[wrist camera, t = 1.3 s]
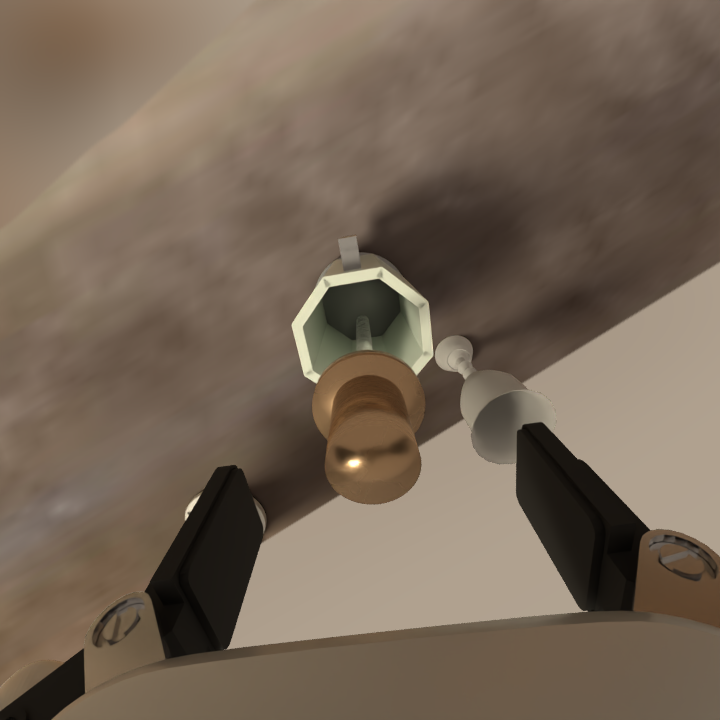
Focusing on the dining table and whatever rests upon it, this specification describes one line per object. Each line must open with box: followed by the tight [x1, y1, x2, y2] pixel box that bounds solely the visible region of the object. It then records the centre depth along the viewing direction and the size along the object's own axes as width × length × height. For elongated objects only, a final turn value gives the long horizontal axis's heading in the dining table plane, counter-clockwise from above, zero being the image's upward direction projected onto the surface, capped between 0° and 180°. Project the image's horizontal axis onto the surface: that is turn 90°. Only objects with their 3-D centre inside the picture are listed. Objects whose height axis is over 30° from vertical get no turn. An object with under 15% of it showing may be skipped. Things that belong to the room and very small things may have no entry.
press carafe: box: [292, 234, 433, 383], centre depth 34 cm, size 14×12×16 cm
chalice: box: [435, 335, 556, 464], centre depth 36 cm, size 7×7×18 cm
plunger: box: [312, 315, 425, 504], centre depth 22 cm, size 6×6×21 cm
